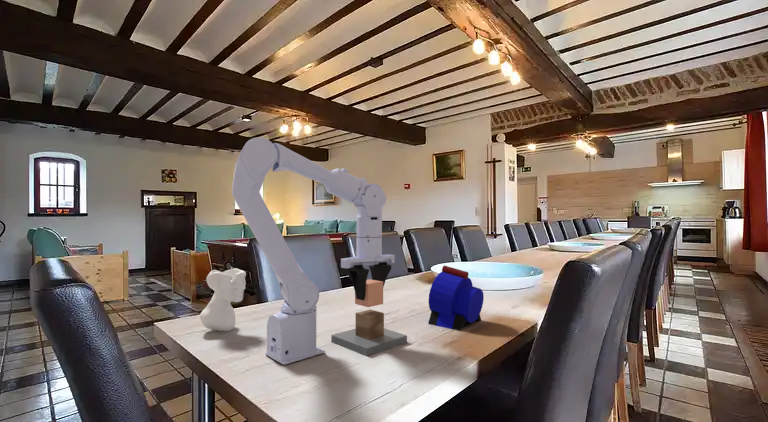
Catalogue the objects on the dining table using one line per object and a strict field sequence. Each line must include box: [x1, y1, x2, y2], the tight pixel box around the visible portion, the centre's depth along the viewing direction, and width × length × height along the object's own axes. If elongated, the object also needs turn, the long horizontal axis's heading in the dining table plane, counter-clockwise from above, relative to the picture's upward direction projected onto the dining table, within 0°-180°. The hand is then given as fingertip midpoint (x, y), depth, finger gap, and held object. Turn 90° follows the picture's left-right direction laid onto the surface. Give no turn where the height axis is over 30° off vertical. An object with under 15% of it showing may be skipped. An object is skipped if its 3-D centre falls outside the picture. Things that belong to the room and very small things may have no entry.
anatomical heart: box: [199, 267, 247, 332], centre depth 90 cm, size 10×11×15 cm
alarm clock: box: [428, 265, 484, 331], centre depth 97 cm, size 12×12×15 cm
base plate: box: [330, 327, 408, 357], centre depth 82 cm, size 12×12×2 cm
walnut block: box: [355, 309, 385, 340], centre depth 82 cm, size 4×4×5 cm
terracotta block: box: [354, 278, 384, 308], centre depth 82 cm, size 4×4×5 cm
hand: (369, 297), depth 82 cm, fingers closed on terracotta block, 4 cm apart
